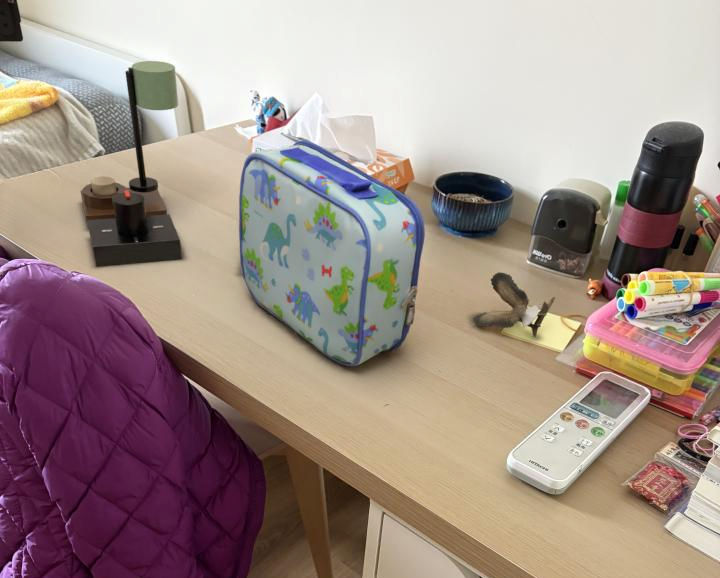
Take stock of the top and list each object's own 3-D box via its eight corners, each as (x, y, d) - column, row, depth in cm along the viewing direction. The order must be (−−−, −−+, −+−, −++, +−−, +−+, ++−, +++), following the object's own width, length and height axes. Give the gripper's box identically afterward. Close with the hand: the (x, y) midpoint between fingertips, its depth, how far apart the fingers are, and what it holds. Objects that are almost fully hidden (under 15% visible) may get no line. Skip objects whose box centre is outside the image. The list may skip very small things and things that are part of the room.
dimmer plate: (96, 266, 101) (92, 245, 99) (90, 239, 107) (86, 218, 105) (181, 259, 105) (179, 238, 103) (171, 233, 111) (169, 213, 109)
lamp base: (88, 229, 109) (83, 203, 107) (82, 203, 116) (78, 178, 113) (167, 223, 113) (165, 198, 110) (158, 199, 120) (155, 174, 117)
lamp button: (93, 197, 110) (91, 185, 108) (91, 188, 112) (89, 176, 111) (118, 195, 111) (116, 184, 110) (115, 186, 113) (113, 175, 112)
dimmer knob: (150, 234, 103) (146, 201, 100) (118, 236, 102) (113, 203, 98) (146, 221, 106) (142, 189, 103) (115, 223, 105) (110, 191, 101)
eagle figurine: (548, 311, 99) (489, 284, 100) (561, 286, 92) (498, 257, 93) (525, 356, 97) (465, 328, 99) (537, 334, 90) (473, 304, 92)
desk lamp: (132, 195, 110) (114, 72, 99) (127, 181, 114) (109, 61, 103) (188, 192, 113) (178, 71, 101) (182, 177, 117) (171, 60, 105)
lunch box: (420, 359, 90) (447, 191, 76) (355, 387, 84) (370, 212, 70) (297, 275, 104) (300, 120, 89) (234, 295, 98) (226, 133, 84)
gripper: (-65, -156, 83) (-23, 16, 95) (-74, -146, 72) (-25, 48, 83) (5, -151, 86) (37, 17, 97) (7, -140, 74) (44, 48, 86)
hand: (8, 31), depth 90 cm, fingers open, 9 cm apart
